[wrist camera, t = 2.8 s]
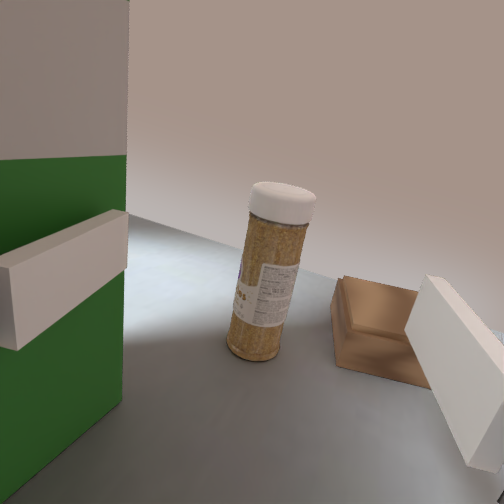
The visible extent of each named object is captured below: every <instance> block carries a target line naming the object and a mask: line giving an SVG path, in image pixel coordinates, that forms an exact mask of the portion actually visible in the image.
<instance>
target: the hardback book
mask: <svg viewBox="0 0 504 504" xmlns="http://www.w3.org/2000/svg"><path fill="white" fill-rule="evenodd" d="M128 51H129V0H0V255H1V254H3V253H5V252H10V250H13V249H15V248H18V247H20V246H23V245H27V244H29V243H32V242H34V241H37V240H39V239H42V238H44V237H46V236H49V235H51V234H54V233H56V232H59V231H61V230H64V229H66V228H68V227H71V226H73V225H76V224H78V223H81V222H83V221H85V220H88V219H90V218H93V217H95V216H98V215H100V214H102V213H105V212H107V211H110V210H112V209H115V210H119V211H124V212H125V210H126V156H127V104H128ZM123 316H124V270H123V271H122V272H121V273H119V274H118V275H117V276H115V277H114V278H113V279H112V280H110V281H109V282H108V283H106V284H105V285H104V286H102V287H101V288H100V289H98V290H97V291H96V292H94V293H93V294H92V295H90V296H89V297H88V298H87V299H85V300H84V301H83V302H81V303H80V304H79V305H77V306H76V307H75V308H73V309H72V310H71V311H69V312H68V313H67V314H65V315H64V316H63V317H62V318H60V319H59V320H58V321H56V322H55V323H54V324H52V325H51V326H50V327H48V328H47V329H46V330H44V331H43V332H42V333H40V334H39V335H38V336H37V337H35V338H34V339H33V340H31V341H30V342H29V343H27V344H26V345H25V346H23V347H22V348H21V349H19V350H18V351H15V350H11V349H8V348H4V347H0V504H2V503H3V502H4V501H5V500H6V499H7V498H9V497H10V496H11V495H12V494H13V493H14V492H16V491H17V490H18V489H19V488H20V487H21V486H23V485H24V484H25V483H26V482H27V481H28V480H30V479H31V478H32V477H33V476H34V475H35V474H37V473H38V472H39V471H40V470H41V469H42V468H44V467H45V466H46V465H47V464H48V463H49V462H51V461H52V460H53V459H54V458H55V457H56V456H58V455H59V454H60V453H61V452H62V451H63V450H65V449H66V448H67V447H68V446H69V445H70V444H72V443H73V442H74V441H75V440H76V439H77V438H79V437H80V436H81V435H82V434H83V433H84V432H86V431H87V430H88V429H89V428H90V427H91V426H93V425H94V424H95V423H96V422H97V421H98V420H100V419H101V418H102V417H103V416H104V415H105V414H107V413H108V412H109V411H110V410H111V409H112V408H114V407H115V406H116V405H117V404H118V403H119V402H121V401H122V369H123Z"/></svg>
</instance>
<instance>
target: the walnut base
mask: <svg viewBox="0 0 504 504" xmlns="http://www.w3.org/2000/svg"><path fill="white" fill-rule="evenodd" d="M418 293H419V292H417V291H412V290H408V289H403V288H399V287H394V286H390V285H385V284H381V283H376V282H370V281H367V280H362V279H358V278H353V277H349V276H344V277H343V279H340V278H338V281H337V284H336V288H335V291H334V295H333V298H332V302H331V305H330V309H331V319H332V329H333V339H334V349H335V359H336V366H338V367H342V368H346V369H350V370H355V371H359V372H363V373H367V374H371V375H375V376H379V377H383V378H388V379H392V380H396V381H400V382H404V383H408V384H412V385H416V386H420V387H425V388H429V389H431V387H430V385H429V383H428V380H427V378H426V376H425V374H424V372H423V370H422V367H421V365H420V363H419V361H418V359H417V356H416V354H415V352H414V350H413V348H412V346H411V343H410V341H409V339H408V337H407V335H406V332H405V330H404V329H405V327H406V324H407V322H408V319H409V316H410V314H411V311H412V308H413V306H414V303H415V301H416V298H417V295H418Z"/></svg>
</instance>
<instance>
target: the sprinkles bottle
mask: <svg viewBox="0 0 504 504" xmlns="http://www.w3.org/2000/svg"><path fill="white" fill-rule="evenodd" d="M315 202H316V196H315V195H314V194H313V193H312V192H310V191H308V190H306V189H303V188H300V187H297V186H293V185H289V184H284V183H277V182H258V183H255V184H254V185H253V186H252V190H251V195H250V201H249V210H250V211H249V213H250V214H249V216H250V219H249V224H248V230H247V234H246V240H245V246H244V252H243V254H242V259H241V264H240V270H239V276H238V281H237V287H236V292H235V297H234V303H233V314H232V318H231V324H230V330H229V332H228V334H227V339H226V340H227V345H228V346H229V348H230V349H231V350H232V352H233V353H234V354H236V355H238V356H239V357H241V358H243V359H246V360H252V361H265V360H269V359H271V358H274V356H276V355H277V353H278V351H279V348H280V343H279V341H280V336H281V333H282V329H283V324H284V321H285V320H286V316H287V312H288V308H289V304H290V300H291V296H292V292H293V288H294V284H295V280H296V276H297V272H298V268H299V264H300V256H301V251H302V246H303V242H304V239H305V234H306V229H307V227H308V226H309V222H310V221H311V220H312V216H313V212H314V208H315Z"/></svg>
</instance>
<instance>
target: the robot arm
mask: <svg viewBox="0 0 504 504" xmlns="http://www.w3.org/2000/svg"><path fill="white" fill-rule="evenodd" d="M128 224H129V213H128V212H124V211H119V210H115V209H112V210H110V211H107V212H105V213H102V214H100V215H98V216H95V217H93V218H90V219H88V220H85V221H83V222H81V223H78V224H76V225H73V226H71V227H68V228H66V229H64V230H61V231H59V232H56V233H54V234H51V235H49V236H46V237H44V238H42V239H39V240H37V241H34V242H32V243H29V244H27V245H23V246H20V247H18V248H15V249H13V250H10V252H5V253H3V254H1V255H0V347H4V348H8V349H11V350H15V351H18V350H19V349H21V348H22V347H23V346H25V345H26V344H27V343H29V342H30V341H31V340H33V339H34V338H35V337H37V336H38V335H39V334H40V333H42V332H43V331H44V330H46V329H47V328H48V327H50V326H51V325H52V324H54V323H55V322H56V321H58V320H59V319H60V318H62V317H63V316H64V315H65V314H67V313H68V312H69V311H71V310H72V309H73V308H75V307H76V306H77V305H79V304H80V303H81V302H83V301H84V300H85V299H87V298H88V297H89V296H90V295H92V294H93V293H94V292H96V291H97V290H98V289H100V288H101V287H102V286H104V285H105V284H106V283H108V282H109V281H110V280H112V279H113V278H114V277H115V276H117V275H118V274H119V273H121V272H122V271H123V270H125V269H126V268H127V254H128ZM404 330H405V332H406V335H407V337H408V339H409V341H410V343H411V346H412V348H413V350H414V352H415V354H416V356H417V359H418V361H419V363H420V365H421V367H422V370H423V372H424V374H425V376H426V378H427V380H428V383H429V385H430V387H431V389H432V391H433V394H434V396H435V398H436V400H437V402H438V404H439V407H440V409H441V411H442V413H443V415H444V417H445V420H446V422H447V424H448V426H449V428H450V431H451V433H452V435H453V437H454V439H455V441H456V444H457V446H458V448H459V450H460V452H461V455H462V457H463V459H464V461H465V463H466V465H467V466H468V467H472V468H475V469H479V470H483V471H487V472H491V473H495V474H497V473H498V471H499V470H500V468H501V466H502V465H503V463H504V345H503V344H502V343H501V342H500V341H499V339H498V338H497V337H496V336H495V335H494V334H493V333H492V332H491V330H490V329H489V328H488V327H487V326H486V325H485V324H484V322H483V321H482V320H481V319H480V318H479V317H478V316H477V315H476V313H475V312H474V311H473V310H472V309H471V308H470V307H469V305H468V304H467V303H466V302H465V301H464V300H463V299H462V298H461V296H460V295H459V294H458V293H457V292H456V291H455V290H454V289H453V287H452V286H451V285H450V284H449V283H448V282H447V281H446V279H445V278H441V277H436V276H431V275H427V274H426V275H425V277H424V280H423V282H422V285H421V288H420V290H419V293H418V295H417V298H416V301H415V303H414V306H413V308H412V311H411V314H410V316H409V319H408V322H407V324H406V327H405V329H404ZM497 502H498V503H499V504H504V491H503V493H502V494H501V496H500V497H499V499H498V500H497Z"/></svg>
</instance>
